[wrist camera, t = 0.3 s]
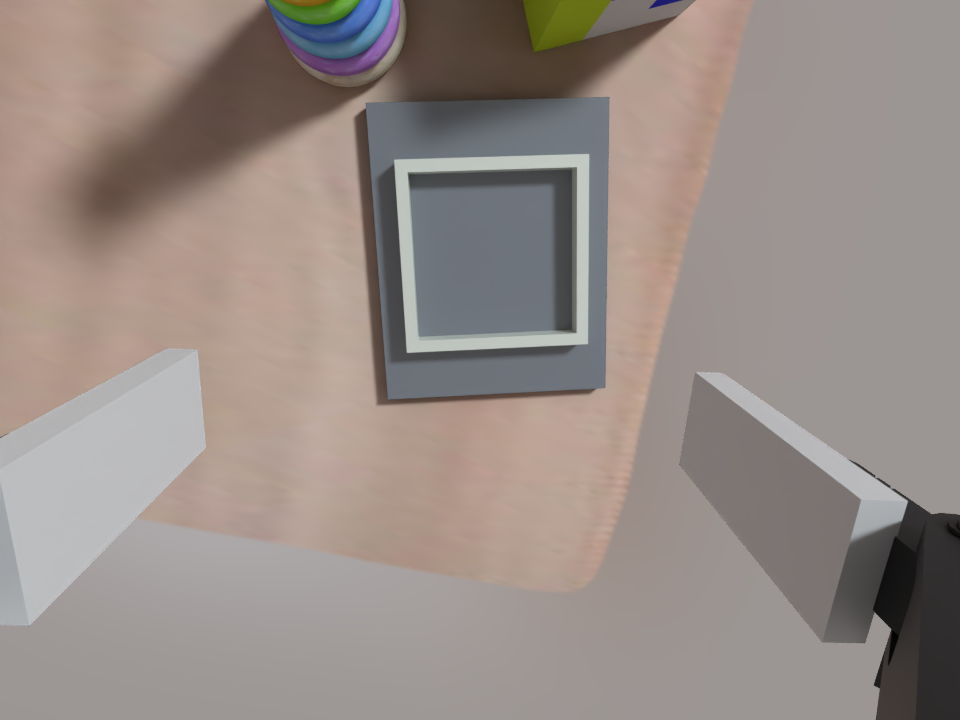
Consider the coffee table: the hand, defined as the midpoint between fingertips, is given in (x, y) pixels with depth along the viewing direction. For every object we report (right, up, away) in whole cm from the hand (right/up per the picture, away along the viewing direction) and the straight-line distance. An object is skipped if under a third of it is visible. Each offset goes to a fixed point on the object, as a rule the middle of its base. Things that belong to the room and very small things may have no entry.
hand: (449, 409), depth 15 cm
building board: (+2, +9, +25) cm, 27 cm away
